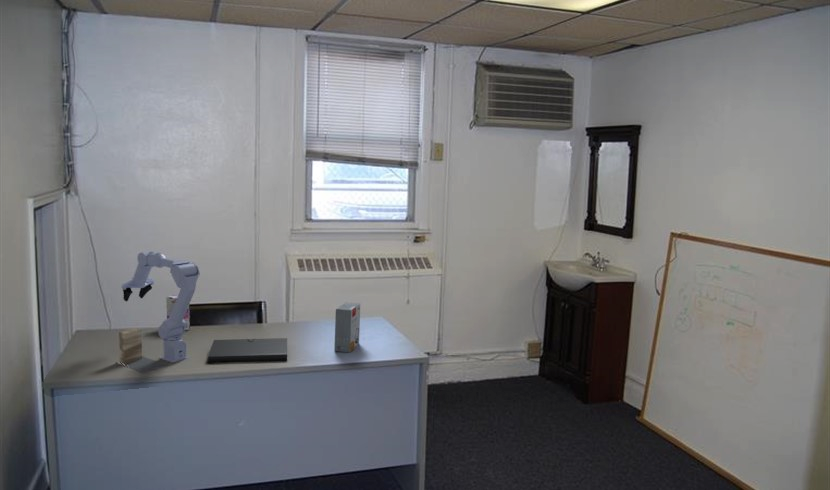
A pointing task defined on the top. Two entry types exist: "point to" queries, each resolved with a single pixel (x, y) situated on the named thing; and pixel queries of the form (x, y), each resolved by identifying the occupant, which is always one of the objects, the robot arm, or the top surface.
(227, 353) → the closed laptop
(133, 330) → the maple block
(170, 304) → the candy bar box
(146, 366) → the mat
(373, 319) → the top surface
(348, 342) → the hard drive box
